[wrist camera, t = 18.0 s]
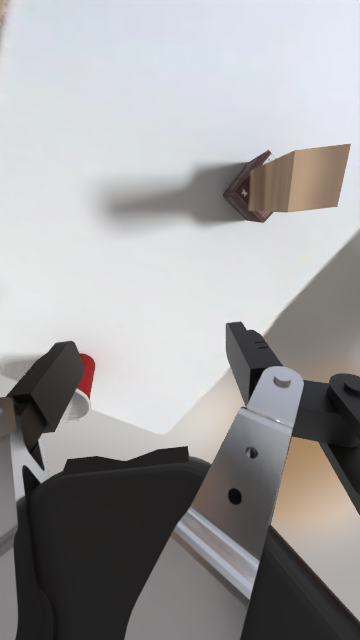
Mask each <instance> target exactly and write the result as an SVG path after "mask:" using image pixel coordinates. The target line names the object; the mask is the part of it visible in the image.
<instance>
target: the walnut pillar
mask: <svg viewBox="0 0 360 640" xmlns="http://www.w3.org/2000/svg"><path fill="white" fill-rule="evenodd" d="M350 145H351V144H344V145H336V146H328V147H319V148H311V149H303V150H295V151H293V152H291V153H288V154H286V155H284V156H282V157H280V158H277V159H275V160H273V161H271V162H268V163H266V164H264V165H262V166H260V167H257V168H255V169H253V170H251V171H250V179H249V202H248V211H267V212H295V211H304V210H312V209H321V208H329V207H337V205H338V200H339V196H340V191H341V187H342V182H343V177H344V173H345V168H346V164H347V159H348V154H349V150H350Z"/></svg>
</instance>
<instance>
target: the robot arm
mask: <svg viewBox="0 0 360 640" xmlns="http://www.w3.org/2000/svg"><path fill="white" fill-rule="evenodd" d="M226 353H227V358H228V361H229V364H230V366H231V369H232V371H233V374H234V377H235V379H236V382H237V385H238V387H239V390H240V393H241V395H242V398H243V400H244V403H245V406H246V408H245V407H241V409H240V410H239V411H238V413H237V415H236V417H235V419H234V421H233V423H232V425H231V427H230V430H229V431H228V433H227V435H226V437H225V439H224V441H223V443H222V445H221V447H220V449H219V451H218V453H217V455H216V457H215V459H214V461H213V463H212V464H210V463H208V462H206V461H204V460H202V459H199V458H196V457H191V456H189V453H188V446H185V447H176V448H168V449H158V450H155V451H153V452H150V453H148V454H145V455H142V456H139V457H137V458H134V459H131V460H128V461H120V460H114V459H109V458H104V457H98V456H94V457H85V458H75V459H67V462H66V464H65V467H64V470H63V471H62V472H60V473H58V474H56V475H54V476H52V477H50V474H49V470H48V466H47V461H46V457H45V453H44V449H43V445H42V442H41V440H40V439H39V438H40V436H41V434H42V433H49V432H55V430H56V428H57V426H58V424H59V422H60V420H61V418H62V416H63V414H64V412H65V410H66V408H67V406H68V404H69V402H70V401H71V399H72V397H73V395H74V393H75V391H76V389H77V387H78V385H79V383H80V381H81V379H82V377H83V375H84V364H83V361H82V359H81V357H80V354H79V352H78V349H77V347H76V345H75V343H74V342H73V341H66V342H58V343H55V344H54V346H53V347H52V348H51V349H50V350H49V352H48V353H46V354H45V355H44V356H42V357H41V358H40V359H38V360H37V361H36V362H35V363H34V364H33V366H32V367H31V369H29V370H28V371H27V373H26V375H24V376H23V377H22V378H21V380H20V381H19V382H18V383H17V384H16V385H15V387H14V388H13V389H12V390H11V391H10V393H9V394H8V395H7V396H6V397H1V398H0V640H360V621H359V620H358V619H357V618H356V617H355V616H354V615H353V614H352V613H351V612H350V610H349V609H347V607H346V606H345V605H344V604H343V603H342V602H341V601H340V600H339V598H338V597H337V596H336V595H335V594H334V593H333V592H332V591H331V590H330V589H329V588H328V587H327V586H326V584H325V583H324V582H323V581H322V580H321V579H320V578H319V577H318V576H317V575H316V574H315V573H314V571H313V570H312V569H311V568H310V567H309V566H308V565H307V564H306V563H305V561H304V560H303V559H302V558H301V557H300V556H299V555H298V554H297V553H296V552H295V551H294V549H293V548H292V547H291V546H290V545H289V544H288V543H287V542H286V541H285V540H284V539H283V537H282V536H281V535H280V534H279V533H278V532H277V531H276V530H275V529H274V528H273V527H272V526H271V521H272V517H273V513H274V509H275V504H276V500H277V496H278V492H279V488H280V484H281V479H282V475H283V471H284V467H285V463H286V459H287V455H288V451H289V446H290V442H291V438H292V436H293V437H298V438H303V439H308V440H313V441H318V442H319V444H320V446H321V448H322V449H323V451H324V453H325V455H326V456H327V458H328V460H329V462H330V464H331V465H332V467H333V469H334V471H335V473H336V474H337V476H338V478H339V480H340V481H341V483H342V485H343V486H344V488H345V490H346V492H347V493H348V495H349V497H350V499H351V501H352V503H353V504H354V506H355V508H356V510H357V512H358V513H359V515H360V377H359V376H356V375H351V374H336V375H334V376H332V377H331V378H330V381H329V383H321V382H313V381H306V380H303V379H302V378H301V376H300V375H299V374H298V373H296V372H295V371H293V370H291V369H289V368H286V367H283V365H282V364H281V363H280V361H279V360H278V359H277V357H276V356H275V354H274V353H273V351H272V350H271V349H270V348H269V346H268V344H267V343H266V342H265V340H264V339H263V337H262V336H261V335H260V334H259V333H257V332H256V331H254V330H246V328H245V327H244V325H243V323H242V322H232V323H226Z"/></svg>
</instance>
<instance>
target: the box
mask: <svg viewBox="0 0 360 640" xmlns="http://www.w3.org/2000/svg"><path fill="white" fill-rule="evenodd" d="M275 159H276V158H275V157H274V156H273V155H272V153H271V152H270V151H269V150H268V151H266V152H265V153H263V154H261V155H260V156H258V157H256V158H255V159H253V160H252V161H250V162H248V164H247V165H246V166H245V167H244V169H243V170H242V171H241V173H240V174H239V175H238V176H237V178H236V179H235V180H234V181H233V183H232V184H231V185H230V187H229V188H228V189H227V191H226V192H225V193H224V194H223V196H224V197H225V198H226V200H227V201H228V202H229V203H230V204H231V205H232V206H233V207H234V208H235V209H236V210H237V211H238V212H239V213H240V214H241V215H242V216H243V217H244V218H245V219H246V220H248V221H255V222H262V223H264V222H265V221H266V220H267V219H268V217H269V216H270V215H271V214H272V213H273V212H267V211H248V202H249V179H250V171H251V170H253V169H255V168H257V167H260V166H262V165H264V164H266V163H268V162H271V161H273V160H275Z"/></svg>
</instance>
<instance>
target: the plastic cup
mask: <svg viewBox="0 0 360 640" xmlns="http://www.w3.org/2000/svg"><path fill="white" fill-rule="evenodd" d="M80 357H81V359H82V361H83V364H84V375H83V377H82V379H81V381H80V383H79V385H78V387H77V389H76V391H75V393H74V395H73V397H72V399H71V401H70V402H69V404H68V406H67V408H66V410H65V412H64V414H63V416H62V418H61V420H60V422H66V423H68V422H74V421H79V420H81V419H83V418H85V417H87V415H88V414H89V413H90V411H91V402H90V393H91V388H92V382H93V375H94V371H95V362H94V360H93V359H92V358H91V357H90V356H88V355H86V354H80Z"/></svg>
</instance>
